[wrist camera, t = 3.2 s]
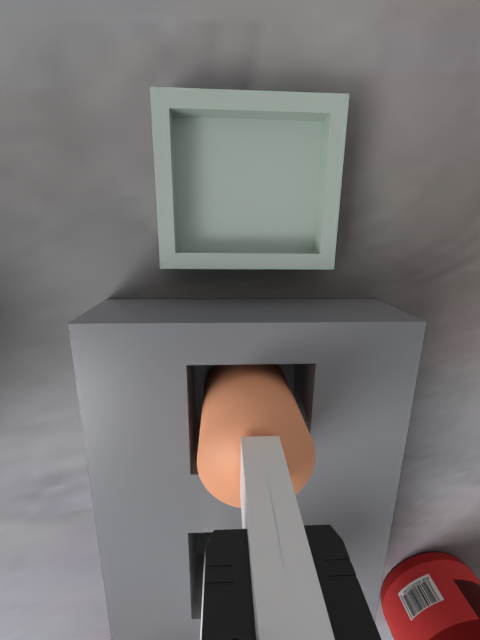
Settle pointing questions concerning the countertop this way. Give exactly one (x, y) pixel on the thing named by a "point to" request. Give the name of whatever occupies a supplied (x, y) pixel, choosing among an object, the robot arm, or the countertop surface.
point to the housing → (184, 428)
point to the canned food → (432, 599)
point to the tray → (247, 177)
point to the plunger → (249, 426)
